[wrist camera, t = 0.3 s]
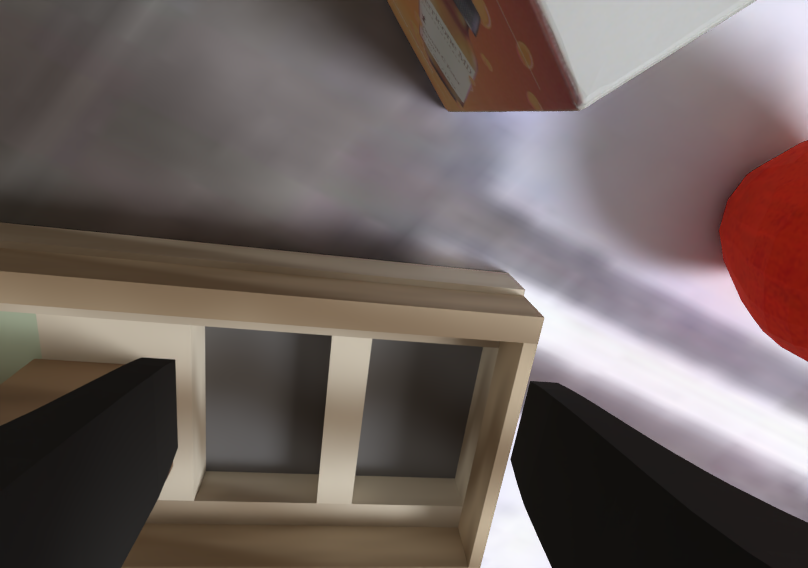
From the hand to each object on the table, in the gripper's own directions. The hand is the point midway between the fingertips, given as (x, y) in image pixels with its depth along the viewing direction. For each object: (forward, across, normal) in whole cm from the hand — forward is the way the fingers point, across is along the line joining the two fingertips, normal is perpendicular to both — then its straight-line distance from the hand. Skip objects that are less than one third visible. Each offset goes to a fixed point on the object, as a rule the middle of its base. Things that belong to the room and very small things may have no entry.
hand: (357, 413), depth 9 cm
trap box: (+10, +6, +6) cm, 13 cm away
